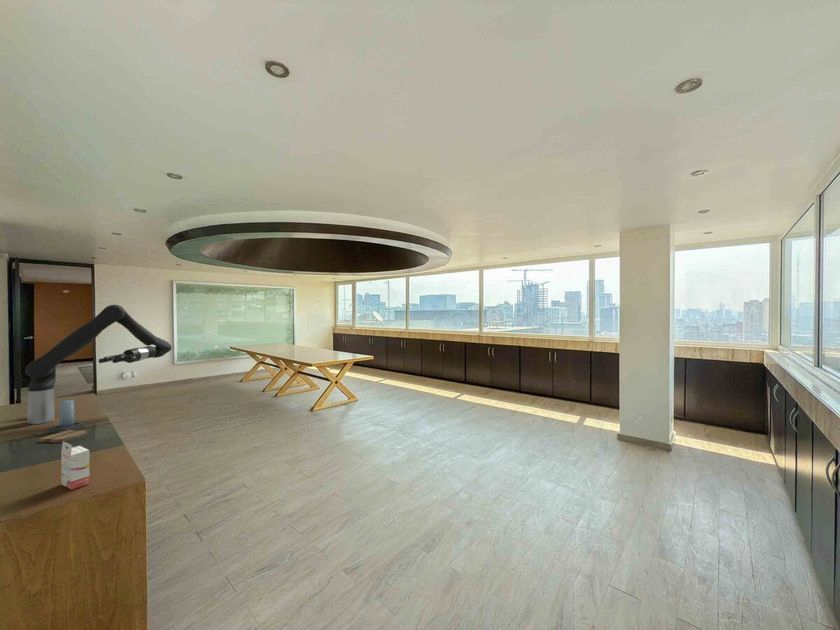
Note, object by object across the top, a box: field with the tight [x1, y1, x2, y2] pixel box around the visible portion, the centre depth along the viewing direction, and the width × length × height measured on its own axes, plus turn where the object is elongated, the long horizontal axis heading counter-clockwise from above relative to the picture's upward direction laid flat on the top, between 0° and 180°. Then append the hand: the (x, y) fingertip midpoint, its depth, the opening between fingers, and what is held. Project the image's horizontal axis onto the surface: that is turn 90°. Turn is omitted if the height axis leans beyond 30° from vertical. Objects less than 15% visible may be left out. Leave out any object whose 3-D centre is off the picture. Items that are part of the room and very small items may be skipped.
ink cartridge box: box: [60, 441, 91, 491], centre depth 117 cm, size 9×5×15 cm, turn 62°
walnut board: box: [38, 429, 88, 443], centre depth 160 cm, size 11×11×2 cm
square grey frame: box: [48, 421, 86, 433], centre depth 172 cm, size 9×9×2 cm
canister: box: [59, 399, 75, 428], centre depth 171 cm, size 5×5×14 cm
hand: (106, 361), depth 180 cm, fingers open, 8 cm apart
